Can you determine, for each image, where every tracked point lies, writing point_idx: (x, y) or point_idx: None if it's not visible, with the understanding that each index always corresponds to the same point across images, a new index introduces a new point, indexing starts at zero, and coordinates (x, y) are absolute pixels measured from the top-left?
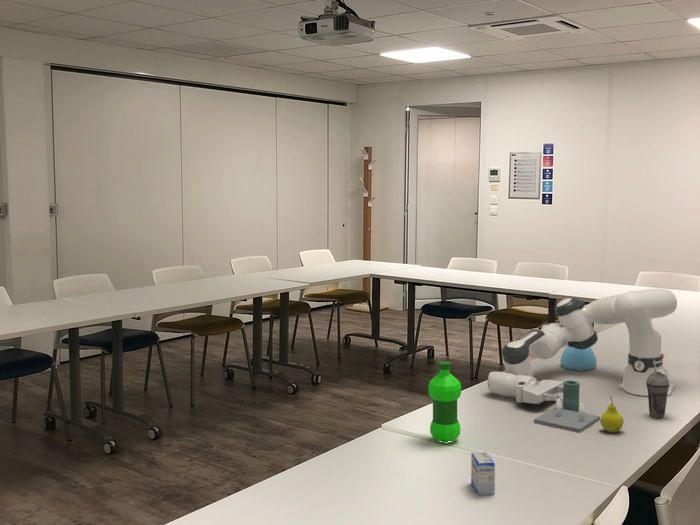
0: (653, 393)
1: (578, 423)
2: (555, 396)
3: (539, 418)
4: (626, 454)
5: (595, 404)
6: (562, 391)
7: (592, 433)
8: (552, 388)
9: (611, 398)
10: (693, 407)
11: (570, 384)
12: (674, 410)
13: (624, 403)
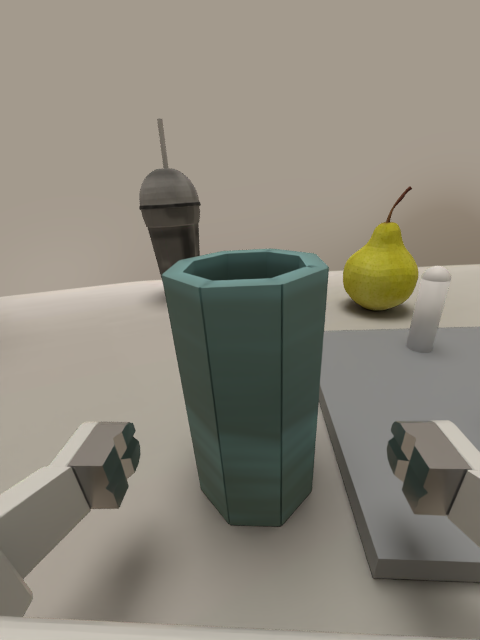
0: (197, 227)
1: (460, 343)
2: (458, 432)
3: None
4: (462, 275)
5: (80, 410)
6: (33, 552)
7: (446, 322)
8: (204, 627)
9: (403, 194)
10: (84, 287)
11: (315, 255)
12: (115, 294)
13: (54, 351)
